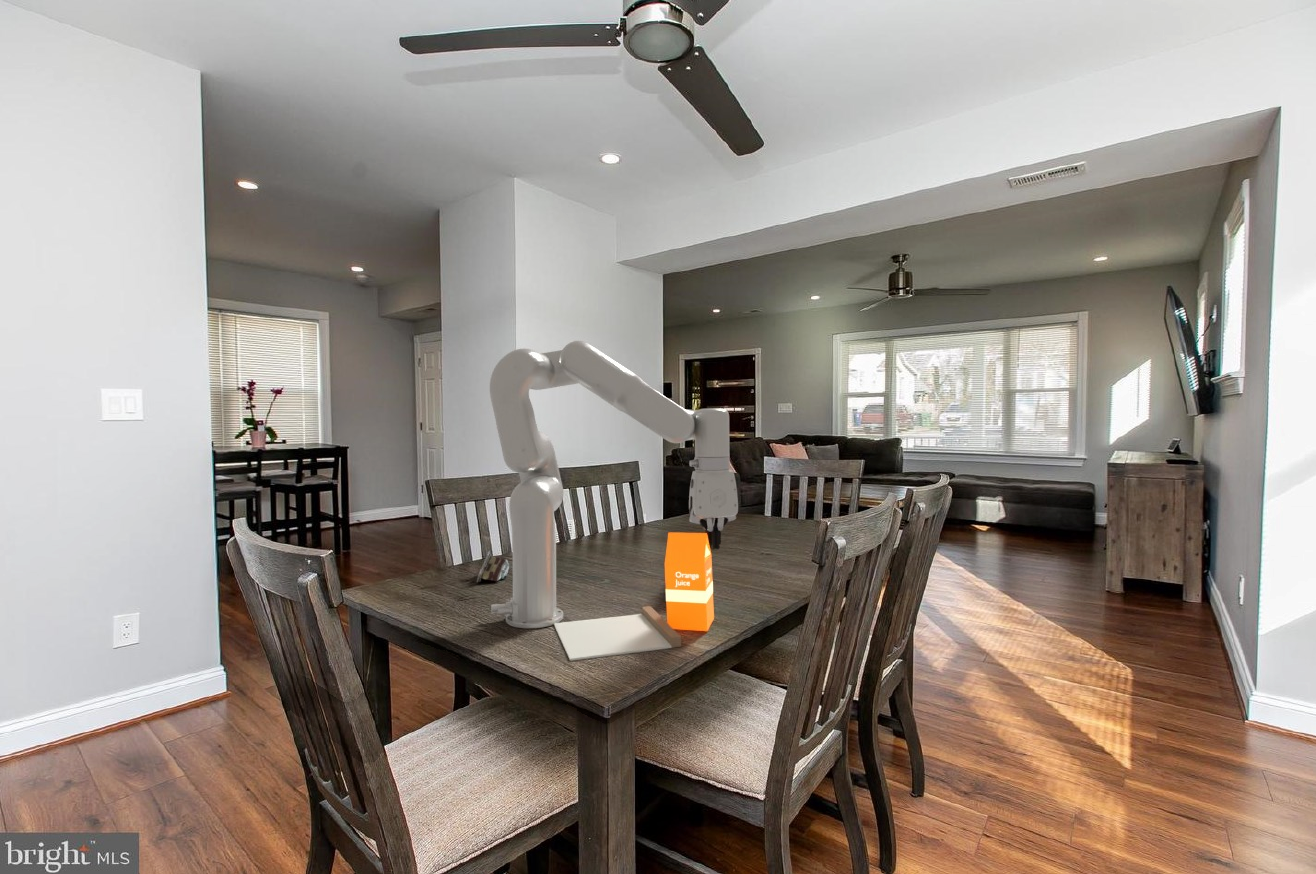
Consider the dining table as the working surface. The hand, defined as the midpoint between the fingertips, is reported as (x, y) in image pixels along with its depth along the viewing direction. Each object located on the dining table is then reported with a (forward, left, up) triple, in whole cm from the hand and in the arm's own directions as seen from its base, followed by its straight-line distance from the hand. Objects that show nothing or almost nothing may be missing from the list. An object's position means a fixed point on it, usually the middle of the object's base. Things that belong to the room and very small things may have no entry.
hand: (713, 548), depth 131 cm
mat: (-24, -1, -17) cm, 29 cm away
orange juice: (-5, 0, -17) cm, 17 cm away
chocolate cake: (-46, +47, -19) cm, 68 cm away
